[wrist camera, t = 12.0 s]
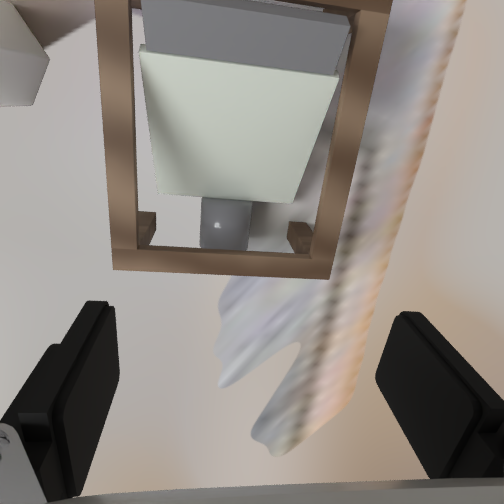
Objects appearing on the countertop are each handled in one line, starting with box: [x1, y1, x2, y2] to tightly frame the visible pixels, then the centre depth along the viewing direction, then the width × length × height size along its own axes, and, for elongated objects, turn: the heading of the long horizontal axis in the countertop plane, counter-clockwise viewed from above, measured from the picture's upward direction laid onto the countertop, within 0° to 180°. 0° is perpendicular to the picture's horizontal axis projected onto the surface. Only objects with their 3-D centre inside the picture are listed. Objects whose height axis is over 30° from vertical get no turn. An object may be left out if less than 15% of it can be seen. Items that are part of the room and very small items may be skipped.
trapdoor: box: [139, 0, 351, 204], centre depth 28 cm, size 17×14×2 cm
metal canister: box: [200, 197, 252, 251], centre depth 35 cm, size 5×5×5 cm
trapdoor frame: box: [94, 0, 393, 280], centre depth 29 cm, size 22×19×10 cm
